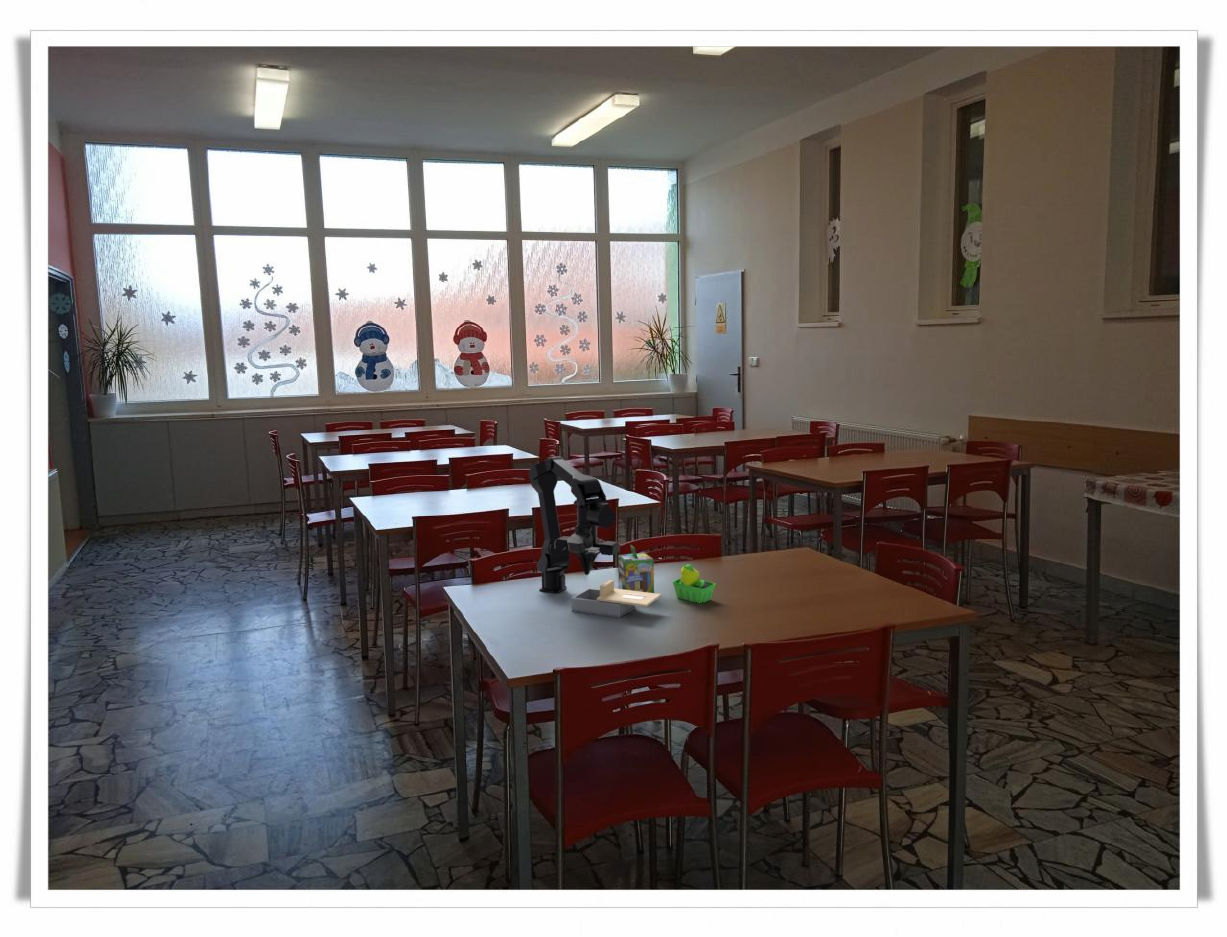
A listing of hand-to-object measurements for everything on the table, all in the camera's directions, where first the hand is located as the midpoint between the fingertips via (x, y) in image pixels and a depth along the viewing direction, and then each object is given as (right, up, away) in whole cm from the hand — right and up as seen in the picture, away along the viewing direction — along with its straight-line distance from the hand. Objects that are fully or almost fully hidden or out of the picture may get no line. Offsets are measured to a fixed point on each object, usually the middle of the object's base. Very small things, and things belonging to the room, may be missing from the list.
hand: (587, 574), depth 246 cm
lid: (+12, -6, -7) cm, 15 cm away
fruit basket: (+31, -9, +7) cm, 33 cm away
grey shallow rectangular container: (+5, -10, -3) cm, 11 cm away
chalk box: (+15, -8, +13) cm, 21 cm away
